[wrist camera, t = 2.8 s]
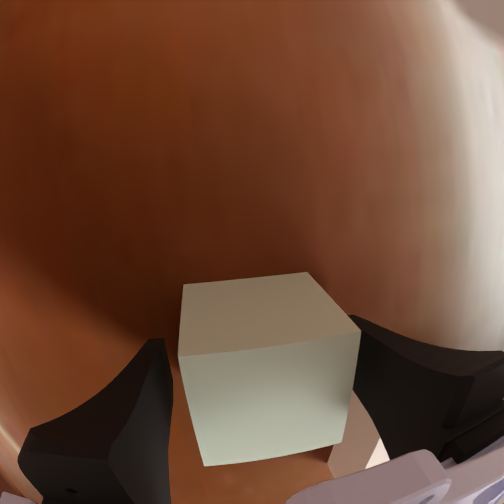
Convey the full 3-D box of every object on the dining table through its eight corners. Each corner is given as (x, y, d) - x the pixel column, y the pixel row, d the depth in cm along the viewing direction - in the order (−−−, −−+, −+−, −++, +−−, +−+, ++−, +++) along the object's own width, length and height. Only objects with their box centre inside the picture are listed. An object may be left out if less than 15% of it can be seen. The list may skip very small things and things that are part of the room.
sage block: (306, 271, 13) (361, 330, 8) (303, 368, 15) (341, 442, 10) (183, 283, 12) (177, 356, 8) (199, 381, 14) (204, 466, 9)
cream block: (456, 350, 17) (494, 382, 13) (419, 434, 19) (443, 467, 15) (353, 371, 16) (387, 421, 12) (325, 460, 18) (345, 504, 14)
